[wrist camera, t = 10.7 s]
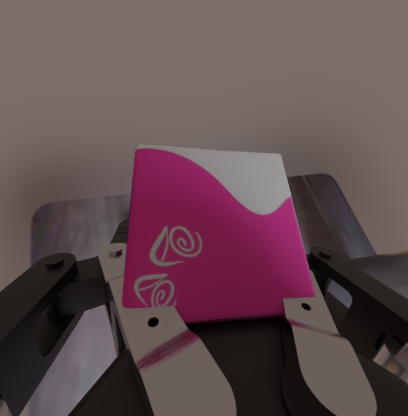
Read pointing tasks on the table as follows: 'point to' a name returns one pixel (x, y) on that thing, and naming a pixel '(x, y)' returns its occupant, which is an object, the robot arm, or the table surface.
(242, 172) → the supplement box
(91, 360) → the table surface
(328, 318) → the robot arm
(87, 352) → the table surface
